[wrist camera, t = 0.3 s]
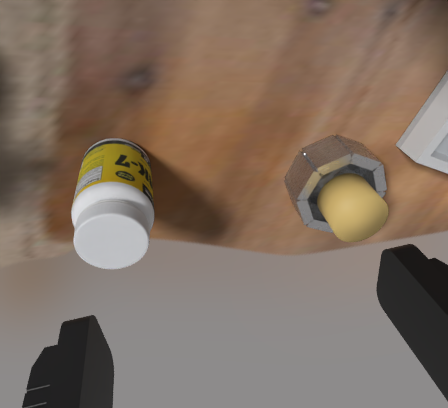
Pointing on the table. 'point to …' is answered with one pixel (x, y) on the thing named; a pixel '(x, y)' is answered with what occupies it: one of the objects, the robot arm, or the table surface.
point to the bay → (429, 131)
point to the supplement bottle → (113, 204)
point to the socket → (329, 174)
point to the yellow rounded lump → (352, 207)
